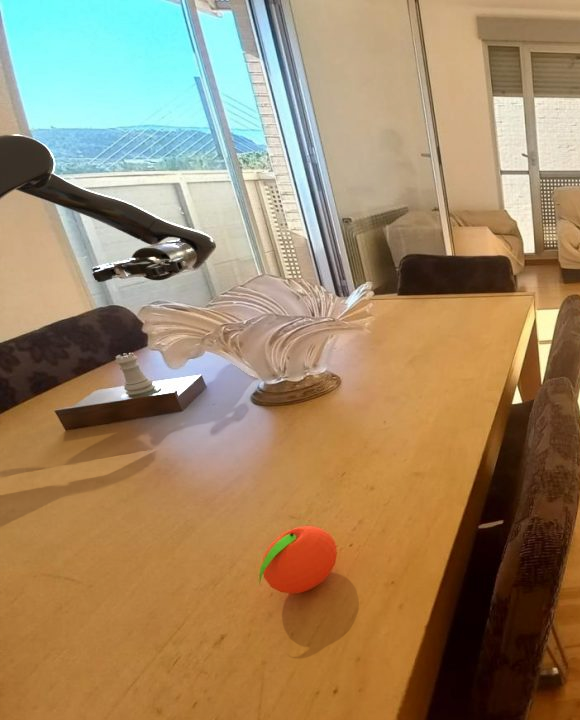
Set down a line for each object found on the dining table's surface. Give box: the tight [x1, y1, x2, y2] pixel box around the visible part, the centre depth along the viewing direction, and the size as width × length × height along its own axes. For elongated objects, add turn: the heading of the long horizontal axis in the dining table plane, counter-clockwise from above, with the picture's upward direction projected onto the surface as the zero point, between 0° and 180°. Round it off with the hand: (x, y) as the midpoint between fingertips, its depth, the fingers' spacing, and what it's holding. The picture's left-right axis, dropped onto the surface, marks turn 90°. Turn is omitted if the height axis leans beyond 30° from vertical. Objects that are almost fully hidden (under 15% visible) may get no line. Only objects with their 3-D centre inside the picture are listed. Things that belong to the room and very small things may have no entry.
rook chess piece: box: [114, 352, 155, 396], centre depth 94 cm, size 4×4×8 cm
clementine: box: [258, 525, 338, 595], centre depth 52 cm, size 8×7×7 cm
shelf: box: [54, 374, 208, 431], centre depth 96 cm, size 18×12×4 cm, turn 111°
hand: (124, 274), depth 97 cm, fingers open, 8 cm apart
